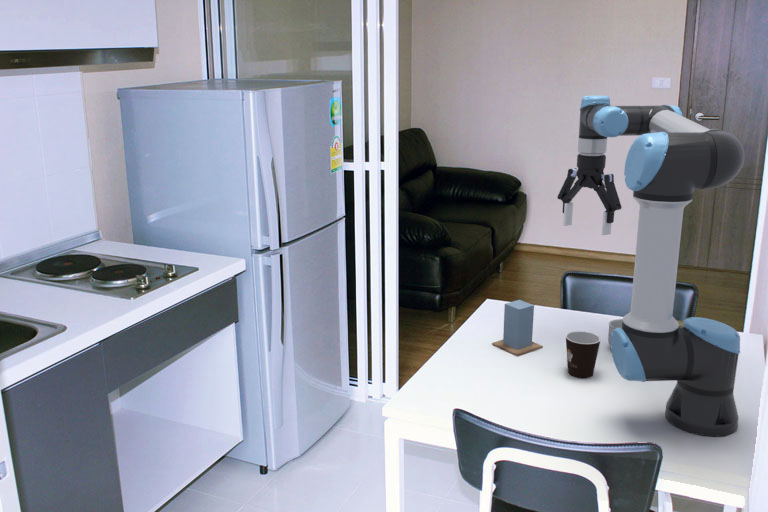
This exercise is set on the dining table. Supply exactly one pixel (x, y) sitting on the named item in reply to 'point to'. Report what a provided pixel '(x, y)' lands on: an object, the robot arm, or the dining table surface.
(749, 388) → the dining table surface
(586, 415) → the dining table surface
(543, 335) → the dining table surface
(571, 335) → the coffee mug
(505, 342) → the pale blue tall brick
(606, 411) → the dining table surface
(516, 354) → the square wooden base plate
